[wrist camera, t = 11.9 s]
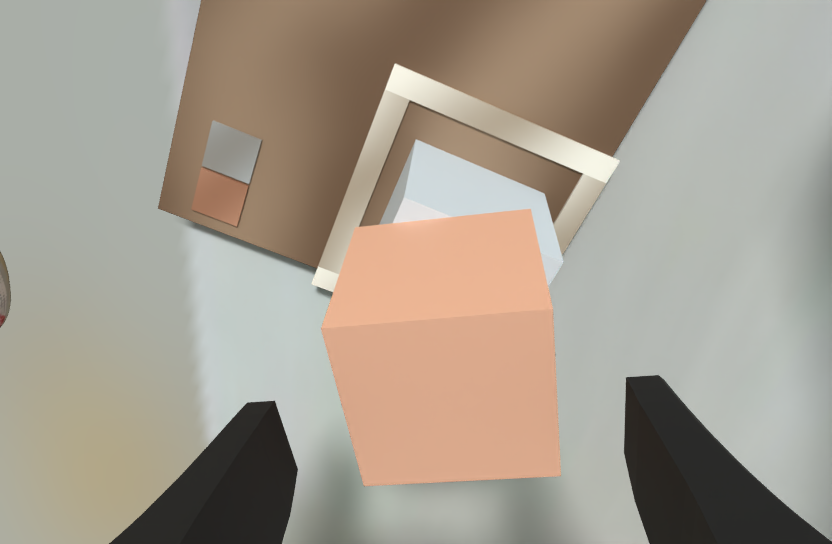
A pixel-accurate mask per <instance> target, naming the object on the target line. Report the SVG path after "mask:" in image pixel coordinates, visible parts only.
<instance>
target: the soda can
mask: <svg viewBox="0 0 832 544" xmlns="http://www.w3.org/2000/svg"><path fill="white" fill-rule="evenodd" d="M10 302H11V292H10V284H9V276H8V271H7V267H6V264H5V261H4V258H3V256H2V254H1V252H0V327H1V326H2V325H3V323H4V322H5V320H6V318H7V316H8V313H9V309H10Z"/></svg>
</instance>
